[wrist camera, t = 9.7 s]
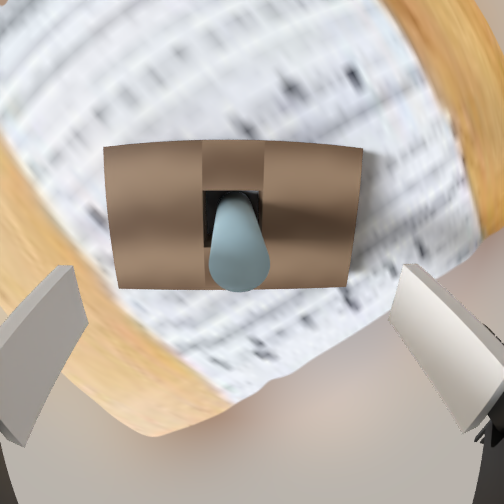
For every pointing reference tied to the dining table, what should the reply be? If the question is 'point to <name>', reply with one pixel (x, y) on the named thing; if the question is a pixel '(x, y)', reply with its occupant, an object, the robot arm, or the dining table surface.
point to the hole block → (231, 178)
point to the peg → (237, 245)
